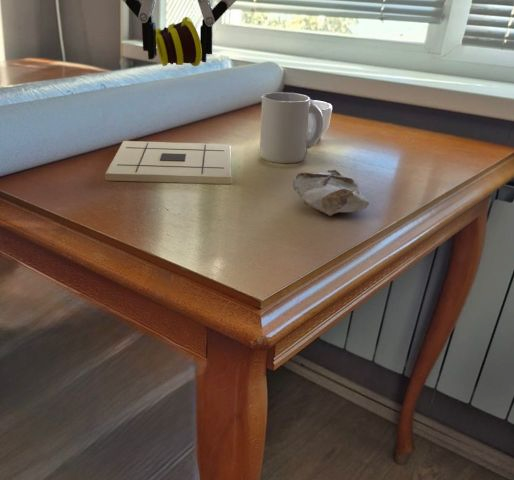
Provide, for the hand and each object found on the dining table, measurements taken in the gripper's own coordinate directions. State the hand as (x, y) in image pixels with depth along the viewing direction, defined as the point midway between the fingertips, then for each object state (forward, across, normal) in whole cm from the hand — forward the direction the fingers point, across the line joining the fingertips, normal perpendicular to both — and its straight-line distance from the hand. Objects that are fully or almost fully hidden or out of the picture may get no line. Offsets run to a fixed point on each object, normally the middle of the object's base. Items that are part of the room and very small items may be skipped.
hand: (178, 57), depth 77 cm
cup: (+15, +16, +13) cm, 26 cm away
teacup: (+15, +20, +25) cm, 35 cm away
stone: (+15, +20, -8) cm, 26 cm away
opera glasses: (+1, 0, 0) cm, 1 cm away
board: (+15, -2, +6) cm, 17 cm away
